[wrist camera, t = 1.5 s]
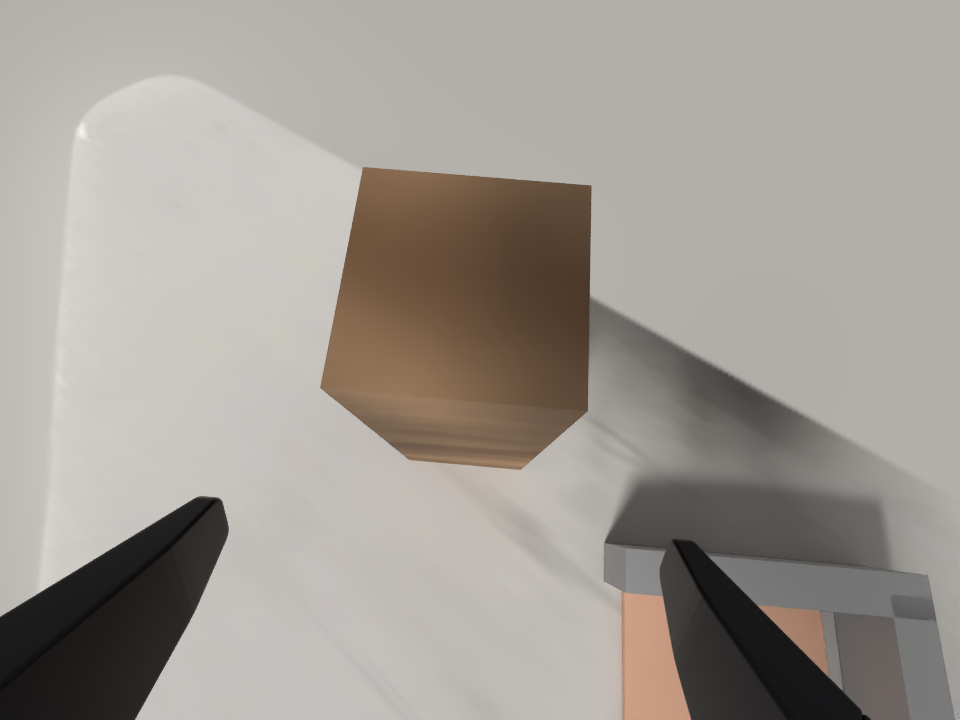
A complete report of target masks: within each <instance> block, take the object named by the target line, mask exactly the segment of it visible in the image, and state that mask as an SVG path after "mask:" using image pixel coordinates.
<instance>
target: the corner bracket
mask: <svg viewBox="0 0 960 720" xmlns="http://www.w3.org/2000/svg"><path fill="white" fill-rule="evenodd" d="M665 551H666V549H665V548H654V547H643V546H632V545H621V544H610V543H604V581H605V582H607V583H608V584H610V585H612V586H614V587H616V588H618V589H620V590H622V591H623V592H625V593H632V594H643V595H653V596H663V595H662V589H661V583H660V576H659V570H660V565H661V562H662V559H663V557H664V554H665ZM705 553H706V554H707V555H708V556H709V557H710V558H711V559H712V560H713V561H714V562H715V563H716V564H717V565H718V566H719V567H720V568H721V569H722V570H723V571H724V572H725V573H726V574H727V575H728V576H729V577H730V578H731V579H732V580H733V581H734V582H735V583H736V584H737V585H738V586H739V587H740V588H741V589H742V590H743V591H744V592H745V593H746V594H747V595H748V596H749V597H750V598H751V599H752V600H753V601H754V602H755V603H756V605H762V606H773V607H784V608H795V609H806V610H817V611H828V612H834V616H835V624H836V632H837V639H838V647H839V655H840V663H841V671H842V678H843V686H844V693H845V694H846V695H847V696H848V697H849V698H850V699H851V700H852V701H853V702H854V703H855V704H856V705H857V706H858V707H859V708H860V709H861V710H862V715H863V714H865V715H867V716H868V717H869V718H870V719H871V720H955V718H954V713H953V708H952V702H951V697H950V691H949V686H948V681H947V675H946V670H945V665H944V659H943V654H942V649H941V643H940V638H939V632H938V627H937V622H936V616H935V611H934V606H933V600H932V595H931V590H930V584H929V579H928V575H921V574H914V573H906V572H899V571H892V570H885V569H878V568H871V567H864V566H853V565H842V564H831V563H820V562H809V561H798V560H787V559H776V558H765V557H754V556H743V555H732V554H721V553H710V552H705Z"/></svg>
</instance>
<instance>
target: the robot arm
mask: <svg viewBox="0 0 960 720" xmlns="http://www.w3.org/2000/svg"><path fill="white" fill-rule="evenodd" d="M228 531H229V527H228V522H227V518H226V514H225V510H224V506H223V502H222V500H221V499H220V498H217V497H206V496H200V497H197V498H195V499H193V500H191V501H190V502H188V503H186V504H185V505H183V506H181V507H180V508H178V509H176V510H175V511H173V512H171V513H170V514H168V515H167V516H165V517H163V518H162V519H160V520H158V521H157V522H155V523H153V524H152V525H150V526H148V527H147V528H145V529H144V530H142V531H140V532H139V533H137V534H135V535H134V536H132V537H130V538H129V539H127V540H125V541H124V542H122V543H121V544H119V545H117V546H116V547H114V548H112V549H111V550H109V551H107V552H106V553H104V554H102V555H101V556H99V557H98V558H96V559H94V560H93V561H91V562H89V563H88V564H86V565H84V566H83V567H81V568H79V569H78V570H76V571H75V572H73V573H71V574H70V575H68V576H66V577H65V578H63V579H61V580H60V581H58V582H56V583H55V584H53V585H52V586H50V587H48V588H47V589H45V590H43V591H42V592H40V593H38V594H37V595H35V596H33V597H32V598H30V599H29V600H27V601H25V602H24V603H22V604H20V605H19V606H17V607H16V608H14V609H12V610H11V611H9V612H7V613H6V614H4V615H2V616H1V617H0V720H135V719H136V717H137V715H138V713H139V712H140V710H141V708H142V706H143V704H144V703H145V701H146V699H147V697H148V695H149V694H150V692H151V690H152V688H153V686H154V685H155V683H156V681H157V679H158V677H159V676H160V674H161V672H162V670H163V668H164V667H165V665H166V663H167V661H168V660H169V658H170V656H171V654H172V652H173V651H174V649H175V647H176V645H177V643H178V642H179V640H180V638H181V636H182V634H183V633H184V631H185V629H186V627H187V625H188V624H189V622H190V620H191V618H192V616H193V614H194V612H195V610H196V608H197V606H198V603H199V601H200V599H201V597H202V595H203V592H204V590H205V588H206V585H207V583H208V581H209V578H210V576H211V574H212V572H213V569H214V567H215V565H216V562H217V560H218V558H219V555H220V553H221V551H222V549H223V546H224V544H225V542H226V539H227V536H228ZM659 576H660V583H661V589H662V595H663V600H664V606H665V612H666V617H667V623H668V629H669V634H670V640H671V646H672V651H673V656H674V660H675V664H676V668H677V672H678V675H679V679H680V682H681V686H682V690H683V693H684V697H685V700H686V704H687V707H688V711H689V714H690V718H691V720H871V719H870V718H869V717H868V716H867V715H865V714H863V715H862V710H861V709H860V708H859V707H858V706H857V705H856V704H855V703H854V702H853V701H852V700H851V699H850V698H849V697H848V696H847V695H846V694H845V693H844V692H843V691H842V690H841V689H840V688H839V687H838V686H837V685H836V684H835V683H834V682H833V681H832V680H831V679H830V678H829V677H828V676H827V675H826V674H825V673H824V672H823V671H822V670H821V669H820V668H819V667H818V666H817V665H816V664H815V663H814V662H813V661H812V660H811V659H810V658H809V657H808V656H807V655H806V654H805V653H804V652H803V651H802V650H801V649H800V648H799V647H798V646H797V645H796V644H795V643H794V642H793V641H792V640H791V639H790V638H789V637H788V636H787V635H786V634H785V633H784V632H783V631H782V630H781V629H780V628H779V627H778V626H777V625H776V624H775V623H774V622H773V621H772V620H771V619H770V618H769V617H768V616H767V615H766V614H765V613H764V612H763V611H762V610H761V609H760V608H759V607H758V606H757V605H756V603H755V602H754V601H753V600H752V599H751V598H750V597H749V596H748V595H747V594H746V593H745V592H744V591H743V590H742V589H741V588H740V587H739V586H738V585H737V584H736V583H735V582H734V581H733V580H732V579H731V578H730V577H729V576H728V575H727V574H726V573H725V572H724V571H723V570H722V569H721V568H720V567H719V566H718V565H717V564H716V563H715V562H714V561H713V560H712V559H711V558H710V557H709V556H708V555H707V554H706V553H705V552H704V551H703V550H702V549H701V548H700V547H699V546H698V545H697V544H696V543H694V542H693V541H691V540H683V539H672V540H670V541H669V543H668V546H667V548H666V551H665V554H664V557H663V559H662V562H661V565H660V570H659Z"/></svg>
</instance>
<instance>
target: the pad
mask: <svg viewBox="0 0 960 720" xmlns="http://www.w3.org/2000/svg"><path fill="white" fill-rule="evenodd" d="M757 606H758V607H759V608H760V609H761V610H762V611H763V612H764V613H765V614H766V615H767V616H768V617H769V618H770V619H771V620H772V621H773V622H774V623H775V624H776V625H777V626H778V627H779V628H780V629H781V630H782V631H783V632H784V633H785V634H786V635H787V636H788V637H789V638H790V639H791V640H792V641H793V642H794V643H795V644H796V645H797V646H798V647H799V648H800V649H801V650H802V651H803V652H804V653H805V654H806V655H807V656H808V657H809V658H810V659H811V660H812V661H813V662H814V663H815V664H816V665H817V666H818V667H819V668H820V669H821V670H822V671H823V672H824V673H825V674H826V675H827V676H828V667H827V659H826V651H825V642H824V634H823V626H822V617H821V611H817V610H806V609H795V608H784V607H773V606H762V605H757ZM622 663H623V720H691V718H690V714H689V711H688V707H687V704H686V700H685V697H684V693H683V690H682V686H681V682H680V679H679V675H678V672H677V668H676V664H675V660H674V656H673V651H672V646H671V640H670V634H669V629H668V623H667V617H666V612H665V606H664V600H663V596H653V595H643V594H632V593H625V592H623V591H622ZM828 677H829V676H828Z"/></svg>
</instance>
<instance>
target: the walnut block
mask: <svg viewBox="0 0 960 720" xmlns="http://www.w3.org/2000/svg"><path fill="white" fill-rule="evenodd" d="M590 231H591V186H589V185H576V184H564V183H552V182H540V181H527V180H515V179H502V178H490V177H478V176H465V175H452V174H441V173H428V172H416V171H404V170H391V169H379V168H367V167H363V171H362V176H361V181H360V187H359V192H358V197H357V202H356V207H355V212H354V217H353V222H352V228H351V233H350V238H349V243H348V248H347V253H346V258H345V264H344V269H343V274H342V279H341V284H340V289H339V294H338V300H337V305H336V310H335V315H334V320H333V325H332V330H331V336H330V341H329V346H328V351H327V356H326V361H325V366H324V372H323V377H322V382H321V387H320V388H321V389H322V390H324V391H325V392H326V393H327V394H329V395H330V396H331V397H332V398H333V399H335V400H336V401H337V402H338V403H340V404H341V405H342V406H343V407H345V408H346V409H347V410H348V411H350V412H351V413H352V414H353V415H355V416H356V417H357V418H358V419H359V420H361V421H362V422H363V423H364V424H366V425H367V426H368V427H369V428H371V429H372V430H373V431H374V432H376V433H377V434H378V435H379V436H380V437H382V438H383V439H384V440H385V441H387V442H388V443H389V444H390V445H392V446H393V447H394V448H395V449H397V450H398V451H399V452H400V453H402V454H403V455H404V456H405V457H406V458H408V459H409V460H417V461H428V462H439V463H451V464H462V465H473V466H484V467H496V468H507V469H518V470H521V469H522V468H523V467H524V466H525V465H527V464H528V463H529V462H530V461H531V460H532V459H533V458H535V457H536V456H537V455H538V454H539V453H540V452H541V451H543V450H544V449H545V448H546V447H547V446H548V445H549V444H551V443H552V442H553V441H554V440H555V439H556V438H557V437H559V436H560V435H561V434H562V433H563V432H564V431H565V430H567V429H568V428H569V427H570V426H571V425H572V424H573V423H575V422H576V421H577V420H578V419H579V418H580V417H581V416H583V415H584V414H585V413H586V412H587V411H588V358H589V298H590V291H589V290H590V236H591V235H590V233H591V232H590Z"/></svg>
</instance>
